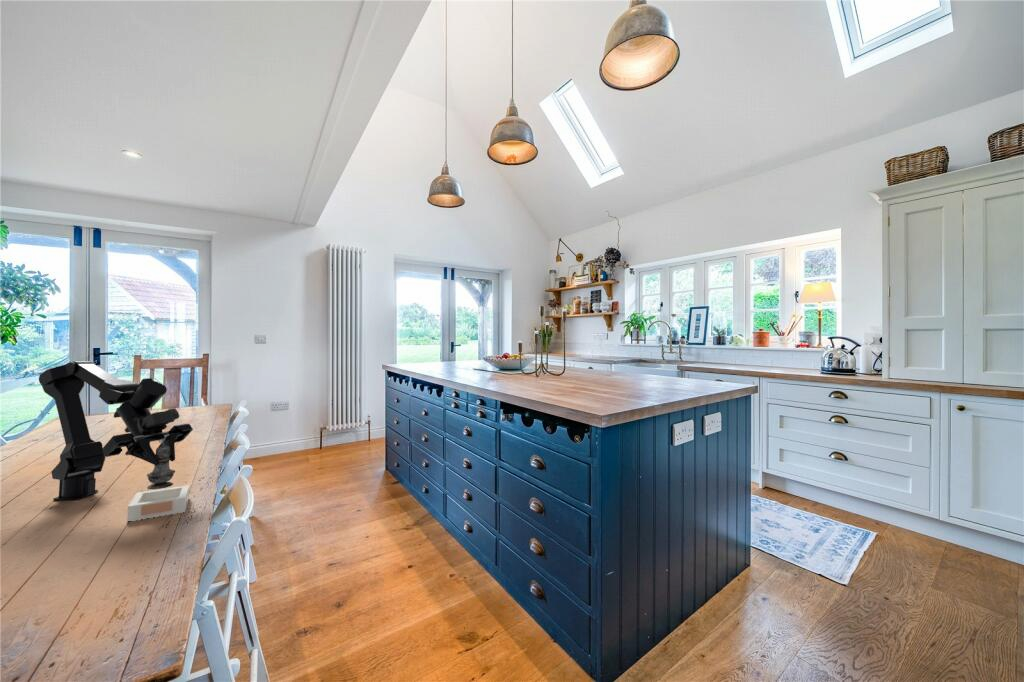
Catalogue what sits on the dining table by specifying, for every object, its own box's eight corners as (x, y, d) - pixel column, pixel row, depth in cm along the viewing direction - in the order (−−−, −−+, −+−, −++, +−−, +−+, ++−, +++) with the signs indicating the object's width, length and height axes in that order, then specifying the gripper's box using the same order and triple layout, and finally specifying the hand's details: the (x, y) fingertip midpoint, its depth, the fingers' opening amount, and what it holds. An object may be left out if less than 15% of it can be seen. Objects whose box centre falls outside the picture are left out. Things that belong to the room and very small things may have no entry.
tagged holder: (126, 522, 96) (127, 507, 96) (136, 507, 106) (137, 492, 106) (184, 512, 103) (185, 498, 103) (188, 498, 112) (189, 485, 112)
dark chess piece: (165, 489, 102) (168, 444, 103) (139, 490, 101) (143, 445, 102) (179, 482, 108) (182, 439, 108) (155, 482, 107) (158, 439, 107)
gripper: (113, 404, 97) (142, 452, 94) (190, 396, 115) (216, 436, 112) (89, 432, 99) (117, 480, 96) (168, 420, 117) (194, 460, 114)
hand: (165, 462), depth 105 cm, fingers closed on dark chess piece, 4 cm apart
